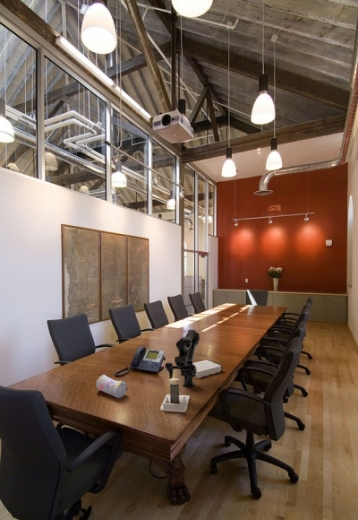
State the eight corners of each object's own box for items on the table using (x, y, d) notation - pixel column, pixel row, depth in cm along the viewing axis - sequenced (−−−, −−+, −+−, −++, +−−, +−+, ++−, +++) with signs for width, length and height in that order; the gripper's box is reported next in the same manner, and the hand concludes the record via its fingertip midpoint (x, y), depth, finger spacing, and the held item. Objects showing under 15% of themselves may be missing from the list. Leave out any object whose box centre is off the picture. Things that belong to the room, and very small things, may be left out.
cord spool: (168, 402, 155) (167, 378, 155) (179, 400, 156) (178, 377, 157) (170, 407, 148) (169, 383, 149) (181, 406, 150) (181, 382, 150)
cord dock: (166, 396, 164) (166, 390, 165) (189, 397, 162) (189, 391, 162) (160, 410, 148) (160, 403, 148) (185, 412, 145) (185, 405, 146)
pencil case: (128, 395, 167) (128, 379, 168) (117, 400, 160) (117, 384, 161) (105, 387, 180) (105, 372, 180) (94, 392, 172) (94, 376, 173)
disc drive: (222, 371, 204) (222, 365, 204) (198, 378, 192) (198, 371, 192) (207, 365, 219) (207, 359, 219) (184, 371, 206) (184, 364, 207)
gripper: (165, 349, 167) (159, 374, 156) (195, 351, 162) (190, 377, 151) (169, 358, 174) (164, 382, 163) (198, 360, 169) (194, 386, 158)
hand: (177, 382), depth 159 cm, fingers open, 9 cm apart
